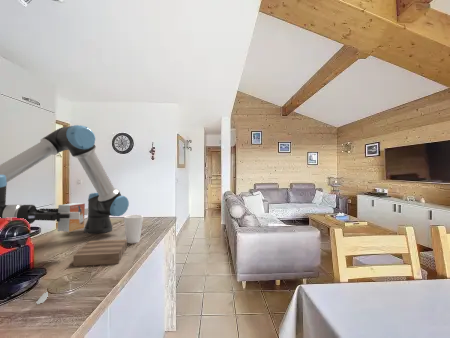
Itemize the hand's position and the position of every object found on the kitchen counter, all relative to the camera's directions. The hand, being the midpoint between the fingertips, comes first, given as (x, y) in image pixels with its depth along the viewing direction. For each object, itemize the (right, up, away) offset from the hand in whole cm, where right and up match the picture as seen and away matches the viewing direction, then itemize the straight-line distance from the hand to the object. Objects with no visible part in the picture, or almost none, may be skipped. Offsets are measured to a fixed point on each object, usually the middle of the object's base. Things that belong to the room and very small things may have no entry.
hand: (83, 213), depth 102 cm
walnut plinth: (+7, -18, +2) cm, 20 cm away
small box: (-5, -7, -1) cm, 8 cm away
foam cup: (+11, -19, +25) cm, 33 cm away
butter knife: (+4, -19, -23) cm, 30 cm away
